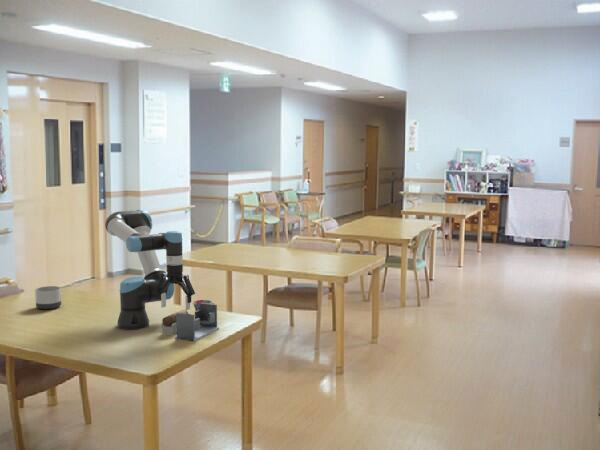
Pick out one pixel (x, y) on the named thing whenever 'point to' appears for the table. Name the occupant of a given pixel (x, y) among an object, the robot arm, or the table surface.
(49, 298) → the planter
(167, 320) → the brown cylinder
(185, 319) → the brackets
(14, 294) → the table surface
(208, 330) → the wall board
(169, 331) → the rest blocks
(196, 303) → the mug
